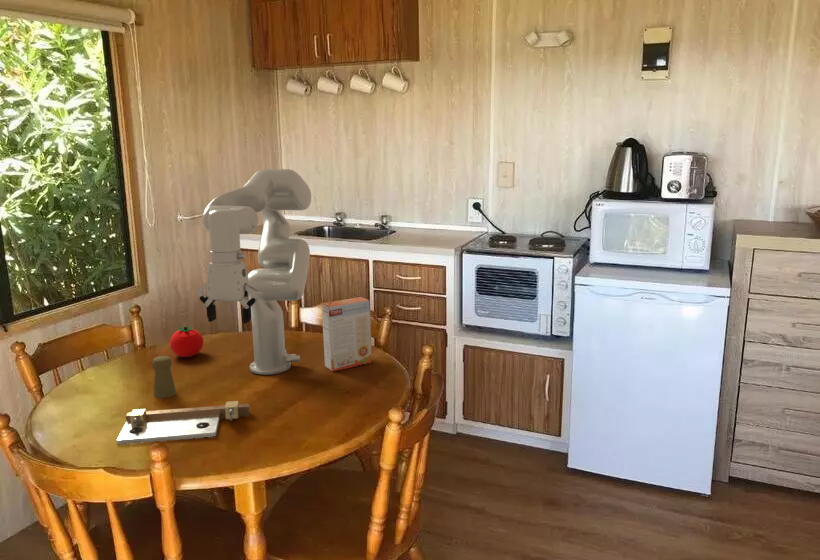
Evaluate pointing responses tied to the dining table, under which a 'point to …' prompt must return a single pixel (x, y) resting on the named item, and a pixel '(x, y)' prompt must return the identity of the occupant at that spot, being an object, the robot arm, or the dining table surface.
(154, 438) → the hole plate
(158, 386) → the salt shaker
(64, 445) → the dining table surface
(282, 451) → the dining table surface
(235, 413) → the block
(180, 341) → the tomato
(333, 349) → the cracker box
